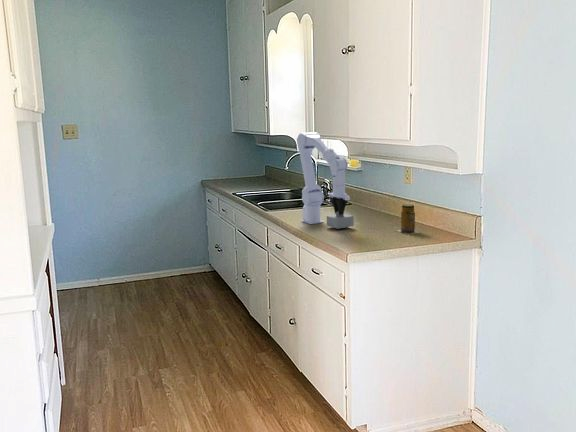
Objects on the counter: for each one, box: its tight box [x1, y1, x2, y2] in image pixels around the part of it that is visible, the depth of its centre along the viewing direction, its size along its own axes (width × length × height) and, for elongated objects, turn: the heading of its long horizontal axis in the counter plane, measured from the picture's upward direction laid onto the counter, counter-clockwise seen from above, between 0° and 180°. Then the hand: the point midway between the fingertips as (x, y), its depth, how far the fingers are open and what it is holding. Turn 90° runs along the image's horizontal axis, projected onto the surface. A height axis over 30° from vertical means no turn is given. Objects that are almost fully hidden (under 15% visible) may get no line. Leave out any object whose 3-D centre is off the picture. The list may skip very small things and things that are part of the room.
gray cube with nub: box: [326, 211, 355, 230], centre depth 264 cm, size 9×9×7 cm
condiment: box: [397, 203, 421, 235], centre depth 252 cm, size 7×8×12 cm
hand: (339, 214), depth 264 cm, fingers closed on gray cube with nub, 2 cm apart
